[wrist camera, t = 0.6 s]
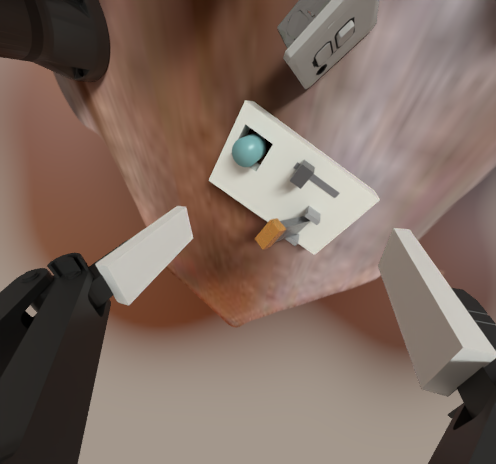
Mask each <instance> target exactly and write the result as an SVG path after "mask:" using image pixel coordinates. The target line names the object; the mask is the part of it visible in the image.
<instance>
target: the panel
mask: <svg viewBox="0 0 496 464" xmlns="http://www.w3.org/2000/svg"><path fill="white" fill-rule="evenodd" d="M250 128H251V129H253V130H254V131H255V132H257V133H258V134H259V135H261V136H262V137H264V138H265V139H266V140H268V141H269V142H270V143H272V144H273V145H272V147H271V148H270V150H269V152H268V153H267V155H266V157H265V158H264V160H263V161H262V163H261V165H260V164H258V163H257V162H256V163H255V164H253V165H252V166H250V167H242V166H240V165H238V164H237V163H236V162H235V161H234V159H233V156H232V147H233V145H234V143H235V142H236V141H237V140H238V139H240V138H243V137H245V136H246V135H247V133H248V132H249V130H250ZM303 160H305V161H307V162H308V163H309V164H311V165H312V166H314V167H315V170H314V174H313V175H312V176H311V177H310V178H309V180H308V181H307V182H306V183H305V184H304V186H303V187H302V188H301V189H300V188H299V187H297V186H296V185H294V184H293V183H292V182H290V178H291V176H292V174H293V173H294V172H295V170H296V169H297V168H298V166H299V165H300V164H301V162H302V161H303ZM209 181H210V182H211V183H213V184H214V185H216V186H217V187H219V188H220V189H221V190H223V191H224V192H226V193H227V194H228V195H230V196H231V197H233V198H234V199H236V200H237V201H238V202H240V203H241V204H243V205H244V206H246V207H247V208H248V209H250V210H251V211H253V212H254V213H255V214H257V215H258V216H260V217H261V218H263V219H264V220H265V221H267V222H269V220H271V219H276V218H277V219H278V220H279V221H282V220H287V219H292V218H297V217H301V216H304V217H306V218H307V219H309V220H310V222H309V223H308V224H307V225H306V226H305V227H304V228H303V229H302V230H301V231H300V232H299V233H298V234H297V235H295V236H292V237H289V238H286V240H287V241H289V242H290V243H291V244H293V245H294V246H296V245H297V244H300V245H301V246H302V247H304V248H305V249H307V250H308V251H310V252H311V253H312V254H314V255H315V254H316V253H317V252H319V251H320V250H321V249H322V248H323V247H325V246H326V245H327V244H328V243H329V242H331V241H332V240H333V239H334V238H335V237H336V236H338V235H339V234H340V233H341V232H342V231H344V230H345V229H346V228H347V227H348V226H350V225H351V224H352V223H353V222H354V221H356V220H357V219H358V218H359V217H360V216H362V215H363V214H364V213H365V212H366V211H368V210H369V209H370V208H371V207H372V206H374V205H375V204H376V203H377V202H378V201H379V200H380V199H379V197H378V196H377V194H376V192H375V191H374V190H373V189H372V188H370V187H369V186H368V185H366V184H365V183H363V182H362V181H361V180H359V179H358V178H357V177H355V176H354V175H353V174H351V173H350V172H349V171H347V170H346V169H344V168H343V167H342V166H340V165H339V164H338V163H336V162H335V161H334V160H332V159H331V158H330V157H328V156H327V155H326V154H324V153H323V152H321V151H320V150H319V149H317V148H316V147H315V146H313V145H312V144H311V143H309V142H308V141H307V140H305V139H304V138H303V137H301V136H300V135H298V134H297V133H296V132H294V131H293V130H292V129H290V128H289V127H288V126H286V125H285V124H284V123H282V122H281V121H280V120H278V119H277V118H275V117H274V116H273V115H271V114H270V113H269V112H267V111H266V110H265V109H263V108H262V107H261V106H259V105H258V104H257V103H255V102H254V101H245V102H244V104H243V106H242V109H241V111H240V113H239V115H238V117H237V119H236V122H235V124H234V126H233V128H232V130H231V133H230V135H229V137H228V139H227V141H226V143H225V146H224V148H223V150H222V152H221V154H220V157H219V159H218V161H217V163H216V165H215V167H214V170H213V172H212V174H211V176H210V178H209Z"/></svg>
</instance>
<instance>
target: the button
mask: <svg viewBox="0 0 496 464" xmlns="http://www.w3.org/2000/svg"><path fill="white" fill-rule="evenodd" d="M265 152H266V142H265V140H264V138H263V137H262V136H260V135H258V134H250V135H248V136H245V137H243V138H240V139H238V140H237V141H236V142H235V143H234V145H233V147H232V156H233V159H234V161H235V162H236V163H237V164H238V165H240V166H242V167H250V166H252V165H253V164H255V163H256V162H257V161H258V160H259V159H261V158H262V157H263V156H264V154H265Z"/></svg>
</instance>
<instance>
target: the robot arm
mask: <svg viewBox="0 0 496 464" xmlns="http://www.w3.org/2000/svg"><path fill="white" fill-rule="evenodd" d="M109 50H110V48H109V35H108V30H107V25H106V21H105V17H104V14H103V11H102V8H101V6H100V3H99V1H98V0H0V57H3V58H10V59H17V60H24V61H30V62H34V63H36V64H38V65H41V66H43V67H45V68H47V69H49V70H51V71H54V72H56V73H58V74H60V75H63V76H65V77H67V78H70V79H73V80H77V81H86V82H93V81H96V80H98V79H99V78H100V77H101V76H102V75H103V74H104V72H105V70H106V68H107V65H108V61H109ZM192 239H193V235H192V230H191V226H190V222H189V217H188V213H187V209H186V207H182V206H176V207H175V208H174V209H172V210H171V211H169V212H168V213H166V214H165V215H164V216H162V217H161V218H159V219H158V220H157V221H155V222H154V223H152V224H151V225H149V226H148V227H147V228H145V229H144V230H142V231H141V232H140V233H138V234H137V235H135V236H134V237H132V238H131V239H129V240H127V241H125V242H124V243H122V244H121V245H119V247H116V248H115V249H114V250H113V251H111V252H110V253H108V254H107V255H105V256H104V257H102V258H101V259H100V260H98V261H96V262H95V263H94V264H92V265H91V266H89V267H88V265H87V263H86V262H85V260H84V259H83V257H82V256H81V254H79V253H70V254H66V255H63V256H60V257H58V258H56V259H55V260H53V261H51V262H50V263H49V264H48V265H47V266H48V268H49V269H50V270H51V271H52V273H53V274H54V276H52V275H51V273H50V272H49V271H48V270H47V269H45V268H40V269H34V270H31V271H28V272H26V273H25V274H23V275H21V276H19V277H18V278H17V279H15V280H14V281H13V282H12V283H11V284H9V285H8V286H7V287H6V288H5V289H4V290H3V291H1V292H0V464H78V459H79V454H80V449H81V444H82V439H83V435H84V430H85V425H86V421H87V416H88V411H89V406H90V401H91V397H92V392H93V387H94V382H95V378H96V373H97V368H98V363H99V358H100V353H101V349H102V344H103V339H104V335H105V330H106V325H107V320H108V315H109V311H110V306H111V301H110V300H109V298H110V297H111V296H112V295H114V297H115V298H116V300H117V301H118V302H119V303H122V304H126V305H130V304H131V303H132V302H133V301H134V300H135V299H136V298H137V296H138V295H139V294H140V293H141V292H142V291H143V290H144V289H145V288H146V287H147V286H148V285H149V284H150V283H151V282H152V281H153V280H154V279H155V278H156V277H157V276H158V275H159V273H160V272H161V271H162V270H163V269H164V268H165V267H166V266H167V265H168V264H169V263H170V262H171V261H172V260H173V259H174V258H175V257H176V256H177V255H178V254H179V253H180V252H181V250H182V249H183V248H184V247H185V246H186V245H187V244H188V243H189V242H190V241H191V240H192ZM378 267H379V270H380V273H381V276H382V279H383V282H384V284H385V287H386V290H387V293H388V296H389V299H390V301H391V304H392V307H393V310H394V313H395V315H396V318H397V321H398V324H399V327H400V330H401V333H402V335H403V338H404V341H405V344H406V347H407V350H408V353H409V355H410V358H411V361H412V364H413V367H414V370H415V373H416V375H417V378H418V381H419V384H420V387H421V389H423V390H426V391H430V392H433V393H437V394H440V395H444V396H447V397H448V396H450V395H451V394H452V393H453V392H454V391H455V390H457V389H458V391H459V393H460V395H461V398H462V400H463V402H464V403H463V404H462V405H460V406H459V407H457V408H456V409H455V410H453V411H452V412H451V413H449V414H448V416H449V417H450V418H452V420H451V422H450V424H449V426H448V428H447V429H446V431H445V433H444V435H443V437H442V439H441V441H440V442H439V444H438V446H437V448H436V450H435V452H434V454H433V455H432V457H431V459H430V461H429V463H428V464H496V325H495V322H494V321H493V320H492V318H491V317H490V316H488V315H487V312H486V311H485V310H484V308H483V307H482V306H481V305H480V303H479V302H478V301H477V300H476V299H474V298H473V297H472V296H470V295H469V294H468V293H467V292H465V291H464V290H461V289H455V288H451V287H450V286H449V284H448V283H447V281H446V280H445V279H444V277H443V276H442V274H441V273H440V272H439V270H438V269H437V267H436V266H435V265H434V263H433V262H432V261H431V259H430V258H429V256H428V255H427V253H426V252H425V250H424V249H423V248H422V246H421V245H420V243H419V242H418V240H417V239H416V238H415V236H414V235H413V233H412V232H411V231H410V230H409V229H399V228H393V230H392V232H391V235H390V237H389V240H388V242H387V245H386V247H385V250H384V252H383V255H382V257H381V260H380V262H379V264H378ZM30 305H31V306H32V307H33V309H34V310H35V311H36V312H37V314H36V315H35V316H34V317H31V316H30V315H29V314H28V313H27V312H26V311H25V310H26V309H27V308H28V307H29V306H30Z"/></svg>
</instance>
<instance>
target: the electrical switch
mask: <svg viewBox="0 0 496 464" xmlns="http://www.w3.org/2000/svg"><path fill="white" fill-rule="evenodd" d="M378 5H379V0H299V1H298V2H297V3H296V5H295V6H294V7H293V8H292V10H291V11H290V12H289V13H288V15H287V16H286V17H285V18H284V19H283V21H282V22H281V23H280V24H279V26H278V27H277V28H278V29H277V30H279V31H280V32H279V33H281V34H280V35H281V37H282V39H283V42H284V43H285V45H286V47H287V48H288V49H287V50H286V51H285V54H284V57H283V58H284V60H285V61H286V63H287V64H288V65H289V67H290V68H291V70H292V71H293V72H294V74H295V75H296V77H297V78H298V80H299V81H300V83H301V84H302V86H303V87H304V88H305V89H307V88H309V87H310V86H312V85H313V84H314V83H315V82H316V81H317V80H318V79H319V78H320V77H321V76H322V75H324V74H325V73H326V72H327V71H328V70H329V69H330V68H331V67H332V66H333V65H334V64H335V63H336V62H338V61H339V60H340V59H341V58H342V57H343V56H344V55H345V54H346V53H347V52H348V51H349V50H351V49H352V48H353V47H354V46H355V45H356V44H357V43H358V42H359V41H360V40H361V39H362V38H363V37H365V36H366V35H367V34H368V33H369V32H370V31H371V30H372V29H373V27H374V26H375V24H376V21H377V13H378ZM307 10H308V11H311V15H310V14H309V13H308V11H307ZM313 16H314V17H313ZM288 20H289V21H288ZM293 39H294V40H293Z"/></svg>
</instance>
